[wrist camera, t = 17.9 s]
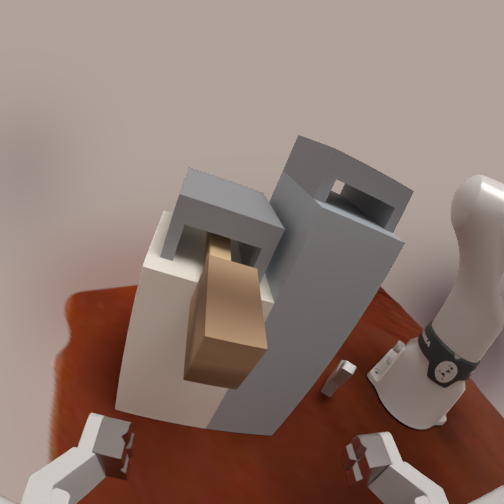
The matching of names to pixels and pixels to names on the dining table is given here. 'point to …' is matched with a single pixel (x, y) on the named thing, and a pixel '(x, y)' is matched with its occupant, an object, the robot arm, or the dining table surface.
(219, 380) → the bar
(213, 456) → the dining table surface
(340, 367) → the lighter
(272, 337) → the stand
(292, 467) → the dining table surface
